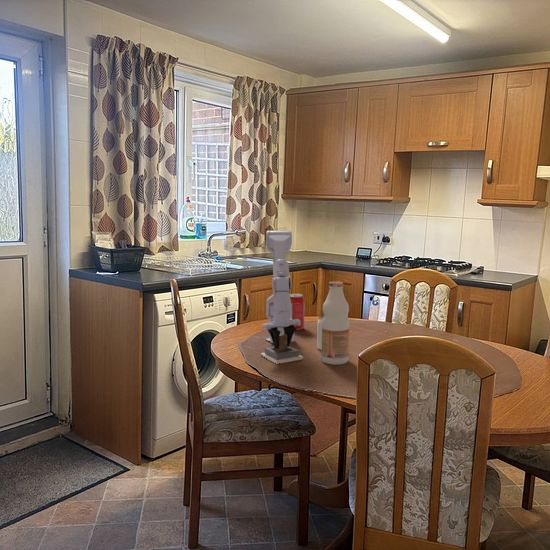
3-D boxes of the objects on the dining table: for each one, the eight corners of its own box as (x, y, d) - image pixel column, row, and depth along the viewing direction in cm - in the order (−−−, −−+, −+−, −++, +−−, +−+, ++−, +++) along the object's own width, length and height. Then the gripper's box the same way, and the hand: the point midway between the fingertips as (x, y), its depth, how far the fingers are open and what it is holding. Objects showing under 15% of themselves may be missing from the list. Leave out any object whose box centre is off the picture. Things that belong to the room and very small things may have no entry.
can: (314, 347, 205) (314, 316, 204) (329, 345, 208) (329, 315, 206) (322, 351, 199) (322, 320, 198) (337, 349, 202) (337, 318, 200)
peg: (283, 349, 195) (283, 333, 194) (289, 351, 192) (289, 335, 191) (273, 351, 193) (273, 334, 192) (280, 353, 190) (280, 337, 189)
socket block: (286, 351, 200) (286, 343, 200) (302, 359, 191) (303, 351, 190) (260, 355, 195) (260, 347, 194) (276, 364, 185) (276, 355, 185)
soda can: (284, 330, 231) (284, 296, 228) (288, 326, 238) (289, 292, 236) (301, 331, 228) (302, 297, 226) (306, 327, 236) (306, 293, 233)
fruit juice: (316, 362, 188) (317, 283, 183) (329, 355, 195) (331, 279, 191) (340, 367, 182) (341, 285, 178) (353, 360, 190) (354, 281, 186)
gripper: (269, 314, 183) (269, 352, 185) (305, 309, 190) (304, 346, 192) (259, 310, 189) (259, 347, 191) (294, 306, 196) (294, 342, 199)
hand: (281, 347), depth 192 cm, fingers closed on peg, 4 cm apart
